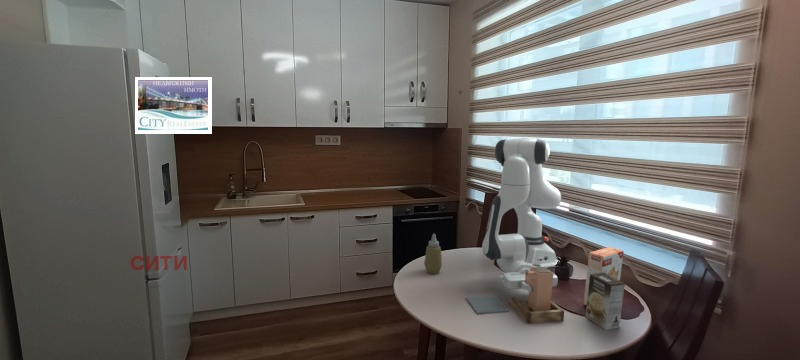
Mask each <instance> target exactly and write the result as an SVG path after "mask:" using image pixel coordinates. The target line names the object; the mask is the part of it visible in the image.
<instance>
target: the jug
mask: <svg viewBox="0 0 800 360" xmlns="http://www.w3.org/2000/svg"><path fill="white" fill-rule="evenodd" d="M553 273H554V272H553V271H551V270H550V269H548V268H546V267H532V268H530V271H526V274H525V283H527V284H529V285H532V286H533V287H534V291H533V292H529V291H528V297H527V298H528V299H527V302H528V306H530V307H531V308H532V309H533V310H534V311H547V310H550V309H551V301H552V298H553V297H552V295H553V286H552V285H553Z"/></svg>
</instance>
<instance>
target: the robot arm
mask: <svg viewBox="0 0 800 360" xmlns="http://www.w3.org/2000/svg"><path fill="white" fill-rule="evenodd" d="M550 152H551V150H550V146H549V143H548V142H547V140H545V139H541V138H537V139H536V138H528V137H526V138H525V137H524V138H523V137H522V138H511V139H510V138H509V139H507V138H505V139H500V140H498V141H497V143H496V144H495V148H494V157H495V159H496V162H498V163H499V164H500V165H501V167H502V171H501V181H500V185H501V186H500V189H499V192H498V194H497V195H496V196H495V197H494V198H493V199H492V201H491V205H490V210H489V213H488V214H489V215H488V219H487V223H486V224H487V225H486V229H485V235H484V237H483V239H482V243H481V244H482V245H481V250H482V254H483V255H484V256H485V257H486V258H487V259H489V260H490V261H496V263H497V265H498V267H499V269H501V271H502V272H503V273H501V274H500V275H499V276H498V277H499V279H500V280H501V281H502V282H503V284H504V286H505V287H506V288H507V289H508V290H519V289H520V290H521V289H522V290H524V291H528V293H529V292H533V291H534V287H533V286H532V285H529V284H527V283H525V274H526V271H530V268H532V267H546V268H547V269H548V268H554V267H556V266H555V265H556V264H557V262H558V261H559V260H558V259H557V256H556V252H555V250H554V249H552V248H551V246H549V245H548V244H547V243H545V242H549V240H550V239H549V237H547V236H544V235H543V234H542V233H543V220H542V218H541V217H540V216H539V215H538V214H536V213H535V212H534V211H533V210H532V208H535V209H543V210H551V209H556V208H557V207H558V206H559V205H560V203H561V201H562V193H561V192H560V190H559V189H558V188H557V187H555V186H553V185H552V184H551V182H549V181H548V180H547V178H546V177H545V175H544V171H543V167H542V166H543V164H545V163H546V162H547V161H548V158H549V156H550V154H551V153H550ZM512 209H514V211H515V213H516V217H517V232H516V233H508V234H507V233H506V234H499V232H500V228H501V227H500V226H501V222H502V218H503V216H504V215H505V213H507V212H508V211H510V210H512ZM558 278H559V277H558V276H557V275H556V274H555V273H554V272H553V285H552V287H557V285H558V283H559V281H558V280H559V279H558Z"/></svg>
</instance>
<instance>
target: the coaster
mask: <svg viewBox="0 0 800 360" xmlns="http://www.w3.org/2000/svg"><path fill="white" fill-rule="evenodd" d="M465 299H466V301H467V303H468V304H469V306H471V308H472V309H473V311H474V312H475V313H476V314H477V315H485V314H486V315H487V314H499V313H509V312H510V310H509V309H508V308H507V307H506V305H505V303H503V302H502V301H501V300H500V299H499V298H498V297H497V295H495V294H493V295H479V296H477V295H476V296H465Z"/></svg>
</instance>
